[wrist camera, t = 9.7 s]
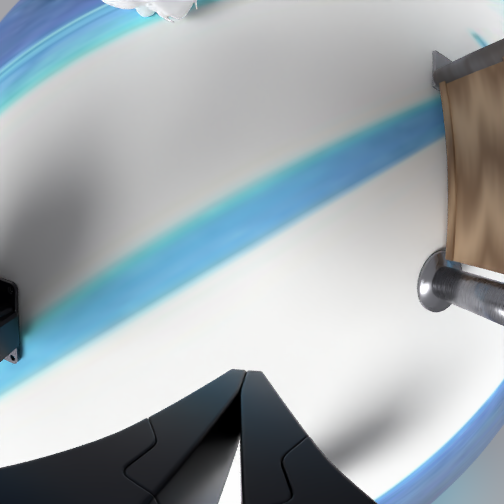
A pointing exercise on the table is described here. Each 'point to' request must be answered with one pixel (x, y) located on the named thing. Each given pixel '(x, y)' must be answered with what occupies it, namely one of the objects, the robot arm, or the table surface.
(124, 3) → the elephant figurine
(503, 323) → the hinge post
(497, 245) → the gate
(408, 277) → the table surface
